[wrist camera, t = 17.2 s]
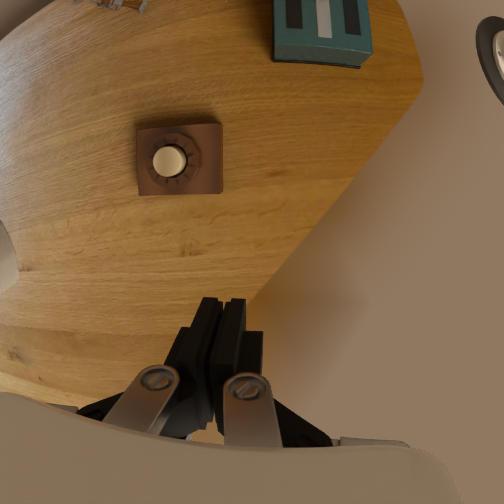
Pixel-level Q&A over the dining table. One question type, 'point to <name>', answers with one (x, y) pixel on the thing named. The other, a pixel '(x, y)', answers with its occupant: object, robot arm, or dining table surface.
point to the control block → (197, 159)
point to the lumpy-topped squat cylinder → (7, 261)
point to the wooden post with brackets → (121, 4)
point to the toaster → (321, 32)
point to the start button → (169, 161)
